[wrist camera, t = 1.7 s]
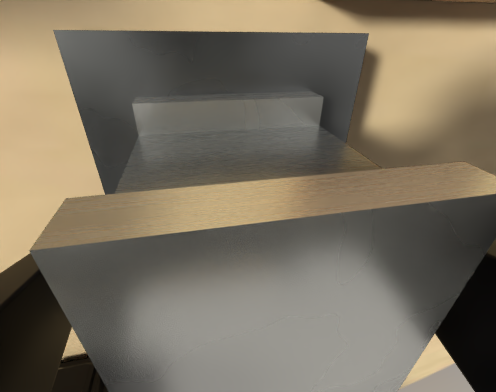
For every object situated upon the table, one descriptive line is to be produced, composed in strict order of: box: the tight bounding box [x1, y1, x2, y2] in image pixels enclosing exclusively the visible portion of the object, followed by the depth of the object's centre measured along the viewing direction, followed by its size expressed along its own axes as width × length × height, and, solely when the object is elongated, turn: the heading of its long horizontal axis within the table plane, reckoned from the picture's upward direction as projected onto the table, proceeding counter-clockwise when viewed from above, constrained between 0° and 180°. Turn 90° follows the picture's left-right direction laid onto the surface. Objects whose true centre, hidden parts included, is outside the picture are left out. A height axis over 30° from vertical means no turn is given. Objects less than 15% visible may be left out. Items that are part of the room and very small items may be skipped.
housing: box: [29, 91, 496, 392], centre depth 7 cm, size 7×5×6 cm
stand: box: [53, 30, 369, 195], centre depth 10 cm, size 10×8×2 cm
